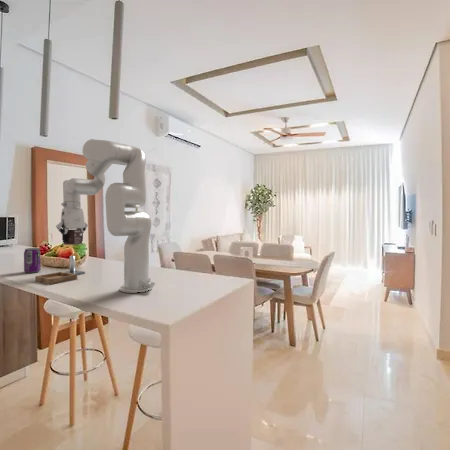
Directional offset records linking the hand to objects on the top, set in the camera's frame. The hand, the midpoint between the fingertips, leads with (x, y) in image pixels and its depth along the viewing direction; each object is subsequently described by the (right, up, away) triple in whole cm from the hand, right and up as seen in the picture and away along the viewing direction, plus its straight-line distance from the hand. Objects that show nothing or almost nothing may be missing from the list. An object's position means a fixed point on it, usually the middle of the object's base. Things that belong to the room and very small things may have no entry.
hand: (73, 241), depth 151 cm
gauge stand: (-1, -16, +1) cm, 16 cm away
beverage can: (-23, -16, +5) cm, 28 cm away
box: (0, -2, 0) cm, 2 cm away
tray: (-1, -17, -12) cm, 21 cm away
